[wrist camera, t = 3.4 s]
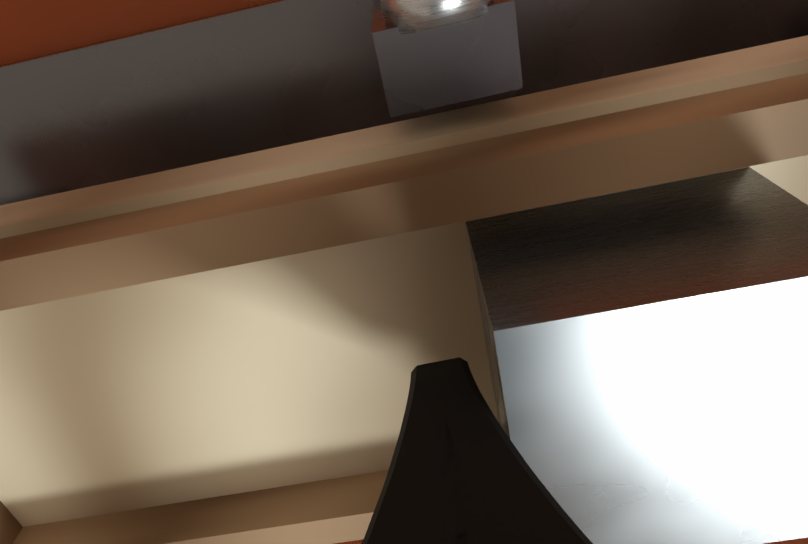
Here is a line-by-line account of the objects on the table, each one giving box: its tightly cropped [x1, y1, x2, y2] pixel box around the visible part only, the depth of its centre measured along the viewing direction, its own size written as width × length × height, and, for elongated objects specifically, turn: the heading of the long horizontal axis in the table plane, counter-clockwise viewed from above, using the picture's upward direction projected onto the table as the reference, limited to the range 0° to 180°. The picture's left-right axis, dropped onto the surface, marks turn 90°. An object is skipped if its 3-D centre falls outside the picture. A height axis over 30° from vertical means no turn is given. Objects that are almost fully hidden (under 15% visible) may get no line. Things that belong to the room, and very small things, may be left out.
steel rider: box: [466, 167, 808, 544], centre depth 9 cm, size 4×5×3 cm
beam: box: [0, 35, 808, 544], centre depth 11 cm, size 24×8×2 cm, turn 102°
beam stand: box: [0, 0, 808, 205], centre depth 13 cm, size 26×13×5 cm, turn 102°
